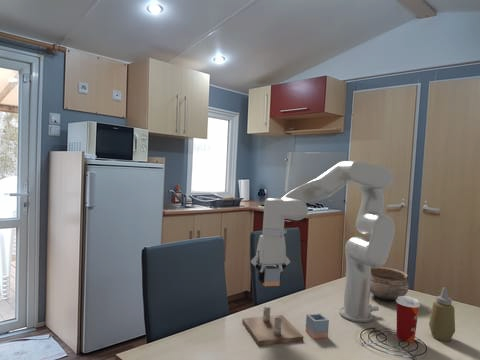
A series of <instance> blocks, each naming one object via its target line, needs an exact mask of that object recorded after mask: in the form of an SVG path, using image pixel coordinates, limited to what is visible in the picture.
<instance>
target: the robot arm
mask: <svg viewBox="0 0 480 360" xmlns="http://www.w3.org/2000/svg"><path fill="white" fill-rule="evenodd" d="M394 179H395V178H394V173H393V171H392V169H390V168H388V167H386V166H384V165H377V164H374V163H370V162H365V161H361V160H342V161H339V162H338V163H336V164H335V165H333V166H332V167H330V168H329V169H327V171H325V172H323V173H322V174H320V175H319V176H317V177H316V178H314V179H312V180H310V181H308V182H306V183H304V184H301V185H300V186H298V187H296V188H294V189H292V190H290V191H289V192H287V193H286V194H284V196H283V197H281V198H277V197H274V198H273V197H269V198H266V199H265V200H264V206H263V207H264V208H263V222H262V234H260V235H259V237H258V242H257V247H256V252H255V253H256V255H255V256H254V257H252V259H251V260H250V263H251V264H252V265H253V266H254V267H255V268H256V269H257V271H258V276H257V279H258V281H259V282H260V284H262V285H263V283H264V272H263V271H264V268H265V266H266V265H276V266H277V267H278V268H280V269H281V272H280V281H281V280H282V272H283V271H284V269H286V267H287V266H288V265H289V264H291V260H290V259H289V257H288V256H287V255H286V254H287V248H286V237H285V234H287V233H288V230H287V229H286V228H285V219H286V220H292V221H301V220H303V219H305V218H306V217H307V216H308V213H309V207H308V205H307V204H308V203H310V202H311V203H312V202H313V201H314V202H315V201H321V200H324V199H328V198H330V197H332V196H333V195H334V194H336V193H337V192H339V191H340V190H341V189H342V188H344V187H345V186H346V185H348V184H355V185H357V186H358V188H359V189H360V192H361V202H360V207H359V208H358V209H359V210H358V213H357V217H356V221H355V229H356V230H357V231H358V233H360V234H363V235H365V236H367V237H369V238H365V237H362V236H352V237H351V238H349V239H348V240H347V241H346V243H345V246H344V254H345V262H346V267H345V281H344V282H345V283H344V284H345V285H344V295H343V297H344V300H343V306H342V307H341V308H340V309H339V311H338V312H339V313H338V314H339V315H340V316H341V317H342V318H344V319H346V320H348V321H352V322H355V323H368V322H369V323H370V322H371V321H372V320H373V314H372V313H373V312H379V310H380V308H379V305H373V306H372V304H370V296H371V292H370V284H371V268H370V267H373V268H379V267H383V266H384V265H385V263H386V262H387V260H388V258H389V254H390V251H391V249H392V248H391V247H392V245H393V240H394V237H395V233H396V232H395V231H396V226H395V222H394V220H393V218H392V217H391V216H390V215H387V214H385V213H383V211H384V206H385V195H384V193H383V190H386V189H388V188H390V187H391V186H392V185H393V182H394ZM257 262H258V263H259V264H258V263H257Z"/></svg>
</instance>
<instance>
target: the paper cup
mask: <svg viewBox="0 0 480 360" xmlns="http://www.w3.org/2000/svg"><path fill="white" fill-rule="evenodd" d="M395 302H396V338H397V339H398V340H399V341H401V342H404V343H411V344H412V343H414V342H415V339H416V330H417V326H418V325H417V324H418V319H419V312H420V311H419V309H420V307H421V304H420V301H419V300H418V299H417V298H414V297H412V296H409V295H408V296H407V295H404V296H398V298H397V299H395Z"/></svg>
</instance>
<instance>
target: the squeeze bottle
mask: <svg viewBox="0 0 480 360" xmlns="http://www.w3.org/2000/svg"><path fill="white" fill-rule="evenodd" d="M455 315H456V314H455V307H454V306H453V303H452V298H451V297H449V293H448V288H447V287H442V289H441V293H440V295H437V296H436V300H435V301H434V302H433V303H432V308H431V312H430V319H429V322H428V326H429V329H430V332H431V333H430V334H431V335H432V337H433V338H435V339H436V340H439V341H442V342H450V341H451V340H452V338H453V336H454V334H455V332H456V322H455V321H456V318H455V317H456V316H455Z"/></svg>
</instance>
